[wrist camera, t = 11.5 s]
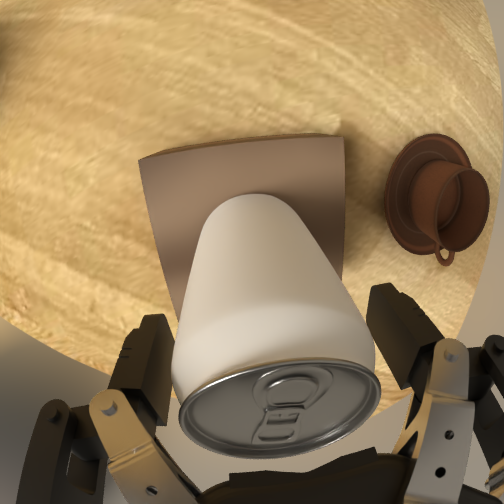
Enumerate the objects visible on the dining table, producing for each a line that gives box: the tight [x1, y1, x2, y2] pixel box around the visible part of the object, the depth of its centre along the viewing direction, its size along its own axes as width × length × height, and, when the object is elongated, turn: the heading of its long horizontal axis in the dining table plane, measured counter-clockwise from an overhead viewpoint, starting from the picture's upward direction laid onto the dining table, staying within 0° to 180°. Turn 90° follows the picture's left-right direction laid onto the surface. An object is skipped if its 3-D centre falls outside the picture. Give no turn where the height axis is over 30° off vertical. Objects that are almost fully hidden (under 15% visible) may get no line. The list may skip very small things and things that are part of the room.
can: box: [171, 194, 381, 459], centre depth 12 cm, size 6×6×12 cm
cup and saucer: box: [385, 134, 490, 266], centre depth 20 cm, size 12×12×6 cm
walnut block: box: [138, 133, 345, 322], centre depth 20 cm, size 12×12×6 cm
